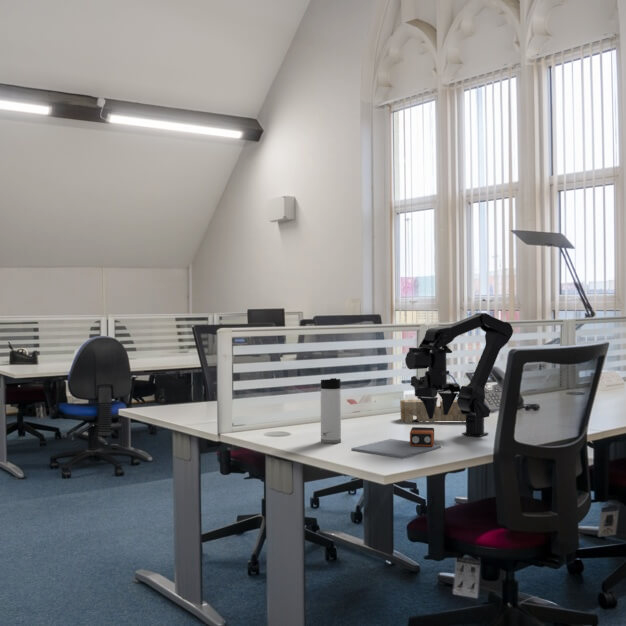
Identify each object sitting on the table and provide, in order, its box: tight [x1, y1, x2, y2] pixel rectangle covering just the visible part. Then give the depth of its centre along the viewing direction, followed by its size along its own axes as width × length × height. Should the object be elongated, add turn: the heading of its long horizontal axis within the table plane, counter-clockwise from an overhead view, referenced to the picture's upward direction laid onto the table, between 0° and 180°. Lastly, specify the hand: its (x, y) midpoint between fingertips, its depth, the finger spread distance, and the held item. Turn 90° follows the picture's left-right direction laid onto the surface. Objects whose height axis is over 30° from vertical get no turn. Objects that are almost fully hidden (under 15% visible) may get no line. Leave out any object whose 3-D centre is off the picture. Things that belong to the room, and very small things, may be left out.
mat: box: [351, 438, 442, 459], centre depth 215 cm, size 20×18×1 cm
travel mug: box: [320, 377, 342, 445], centre depth 227 cm, size 6×7×20 cm
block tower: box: [399, 398, 466, 423], centre depth 269 cm, size 8×8×29 cm
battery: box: [409, 426, 435, 447], centre depth 219 cm, size 4×7×10 cm
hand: (438, 416), depth 233 cm, fingers open, 9 cm apart
